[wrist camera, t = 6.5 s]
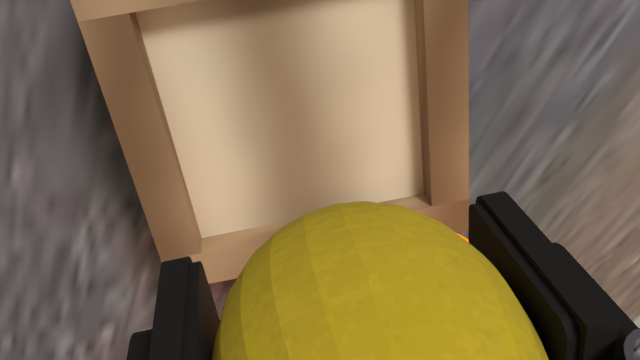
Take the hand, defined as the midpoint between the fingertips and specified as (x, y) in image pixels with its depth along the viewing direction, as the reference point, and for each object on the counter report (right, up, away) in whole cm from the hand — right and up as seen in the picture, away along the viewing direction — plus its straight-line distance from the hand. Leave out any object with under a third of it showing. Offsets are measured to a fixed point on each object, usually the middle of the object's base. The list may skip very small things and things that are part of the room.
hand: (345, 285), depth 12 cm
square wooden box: (-2, +6, +11) cm, 13 cm away
